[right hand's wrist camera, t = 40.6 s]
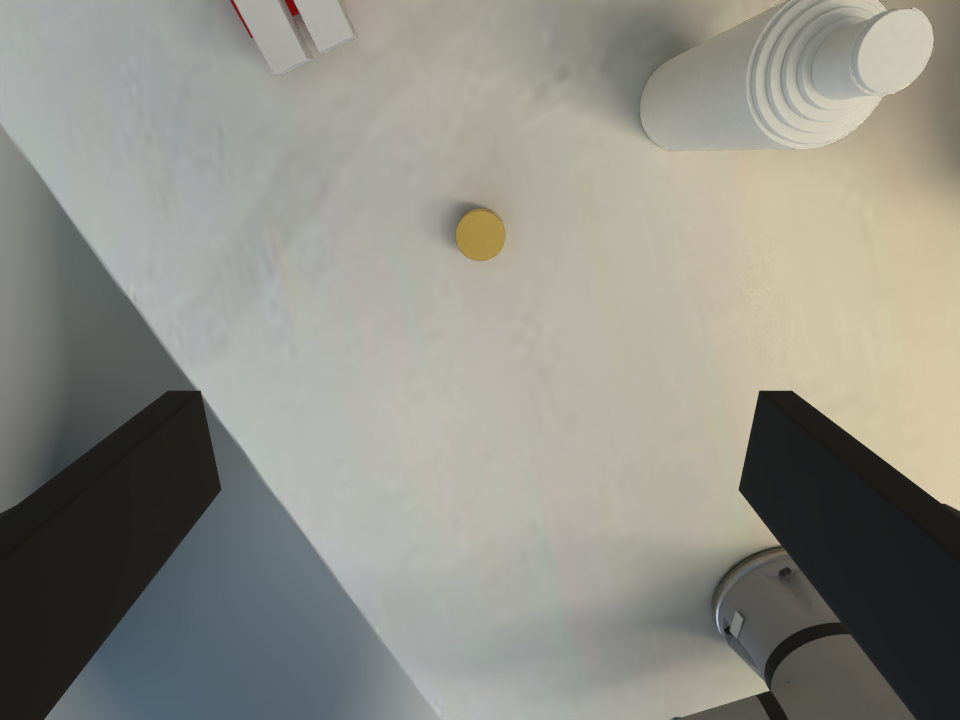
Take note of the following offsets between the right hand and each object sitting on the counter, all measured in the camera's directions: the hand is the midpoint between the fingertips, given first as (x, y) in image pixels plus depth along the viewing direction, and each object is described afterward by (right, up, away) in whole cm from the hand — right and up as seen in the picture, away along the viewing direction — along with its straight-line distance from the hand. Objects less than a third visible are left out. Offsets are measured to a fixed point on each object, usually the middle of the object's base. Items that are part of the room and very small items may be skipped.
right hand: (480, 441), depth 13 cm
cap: (0, +12, +32) cm, 34 cm away
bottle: (+16, +23, +30) cm, 41 cm away
